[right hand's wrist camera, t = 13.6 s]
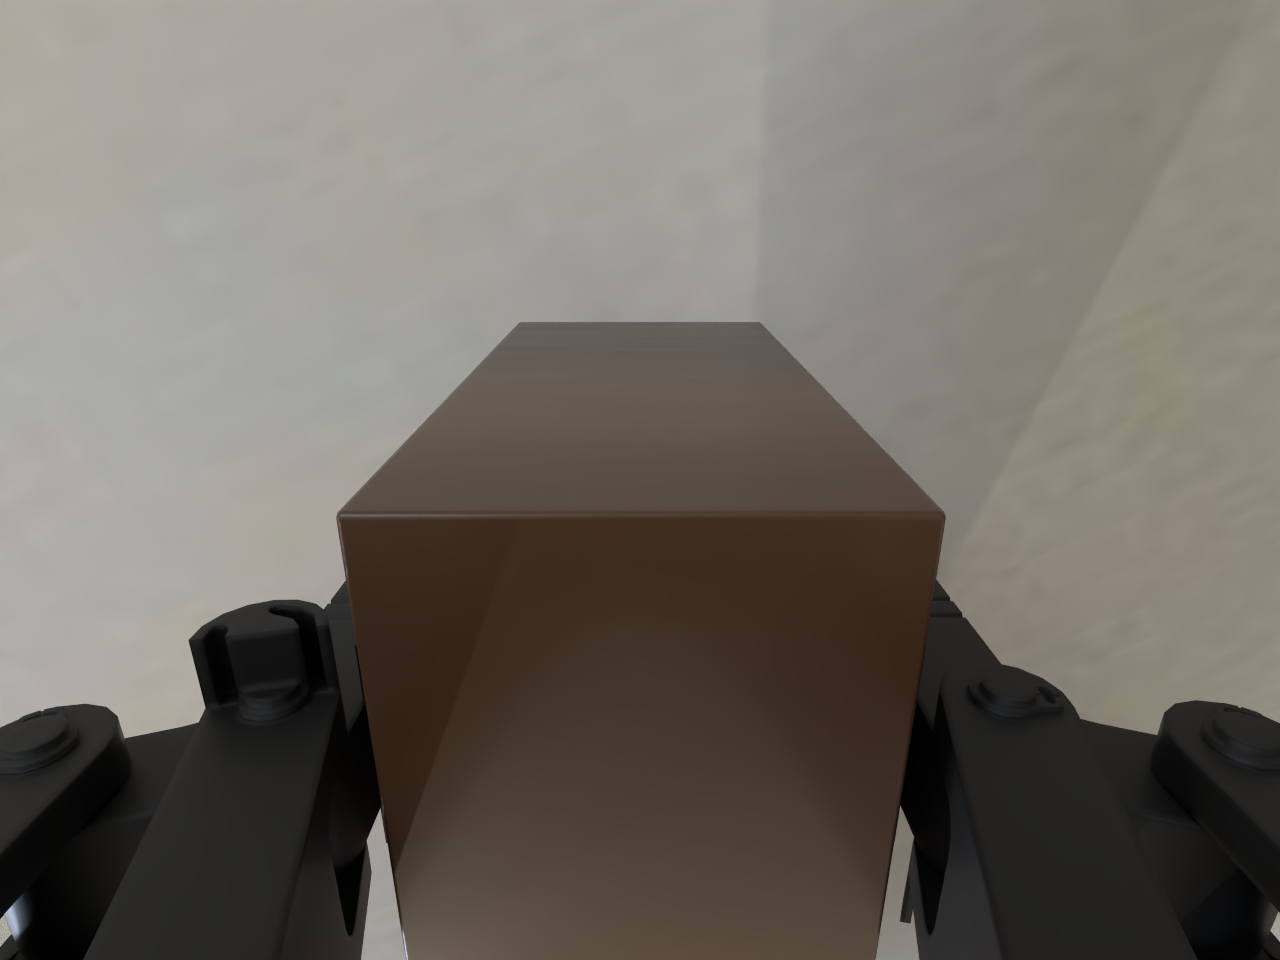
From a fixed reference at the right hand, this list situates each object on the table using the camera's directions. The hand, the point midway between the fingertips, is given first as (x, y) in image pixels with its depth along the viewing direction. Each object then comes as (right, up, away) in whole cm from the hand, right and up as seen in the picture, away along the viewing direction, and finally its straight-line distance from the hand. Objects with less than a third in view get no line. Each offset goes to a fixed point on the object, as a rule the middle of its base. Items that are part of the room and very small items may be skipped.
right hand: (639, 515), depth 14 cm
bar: (0, -8, +4) cm, 9 cm away
